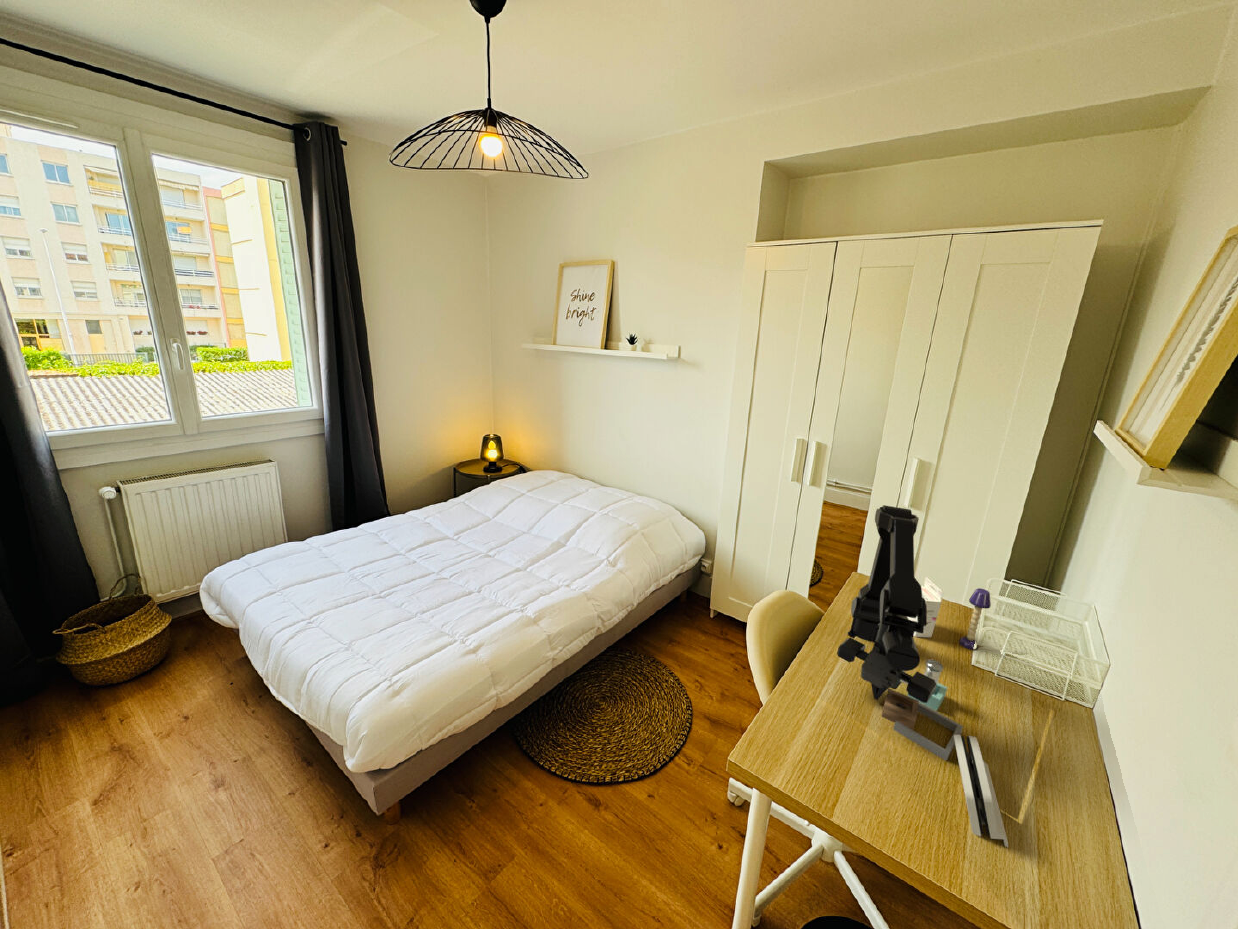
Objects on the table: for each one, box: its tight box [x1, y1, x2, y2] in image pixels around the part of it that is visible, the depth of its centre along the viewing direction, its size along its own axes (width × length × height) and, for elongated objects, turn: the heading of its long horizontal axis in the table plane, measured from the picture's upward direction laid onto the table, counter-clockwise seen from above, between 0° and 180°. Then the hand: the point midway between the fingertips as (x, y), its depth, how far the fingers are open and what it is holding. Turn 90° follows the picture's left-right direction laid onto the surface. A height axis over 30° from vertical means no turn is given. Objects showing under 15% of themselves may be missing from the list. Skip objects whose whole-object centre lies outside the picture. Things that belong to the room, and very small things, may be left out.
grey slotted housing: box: [954, 734, 1009, 848], centre depth 87 cm, size 17×5×10 cm, turn 153°
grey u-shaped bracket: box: [892, 702, 964, 762], centre depth 101 cm, size 10×11×2 cm
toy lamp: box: [958, 588, 992, 650], centre depth 129 cm, size 5×5×17 cm
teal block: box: [906, 682, 948, 712], centre depth 110 cm, size 6×6×4 cm
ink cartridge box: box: [907, 576, 944, 638], centre depth 135 cm, size 9×5×15 cm, turn 179°
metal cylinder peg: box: [923, 658, 944, 694], centre depth 109 cm, size 3×3×9 cm
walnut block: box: [881, 688, 920, 731], centre depth 104 cm, size 6×6×4 cm
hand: (876, 698), depth 108 cm, fingers closed
